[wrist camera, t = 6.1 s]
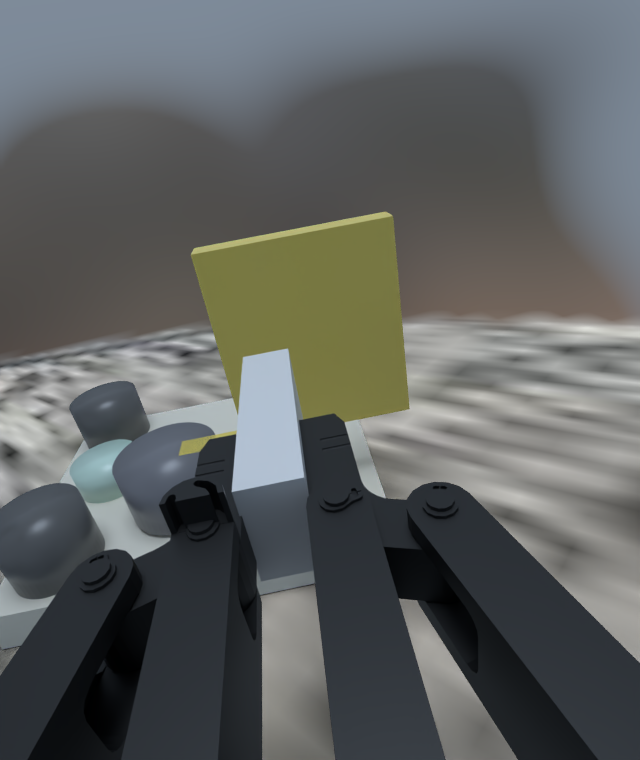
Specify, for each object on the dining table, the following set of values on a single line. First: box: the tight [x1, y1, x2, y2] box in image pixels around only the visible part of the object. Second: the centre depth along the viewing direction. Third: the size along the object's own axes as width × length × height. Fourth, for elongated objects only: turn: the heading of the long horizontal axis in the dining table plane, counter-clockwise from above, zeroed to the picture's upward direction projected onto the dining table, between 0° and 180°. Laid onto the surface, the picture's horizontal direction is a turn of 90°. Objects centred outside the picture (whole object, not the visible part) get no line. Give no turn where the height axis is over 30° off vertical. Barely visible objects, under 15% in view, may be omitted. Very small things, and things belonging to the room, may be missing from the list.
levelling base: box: [0, 381, 386, 650], centre depth 26 cm, size 18×15×5 cm
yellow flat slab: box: [112, 212, 409, 536], centre depth 21 cm, size 14×5×12 cm, turn 97°
